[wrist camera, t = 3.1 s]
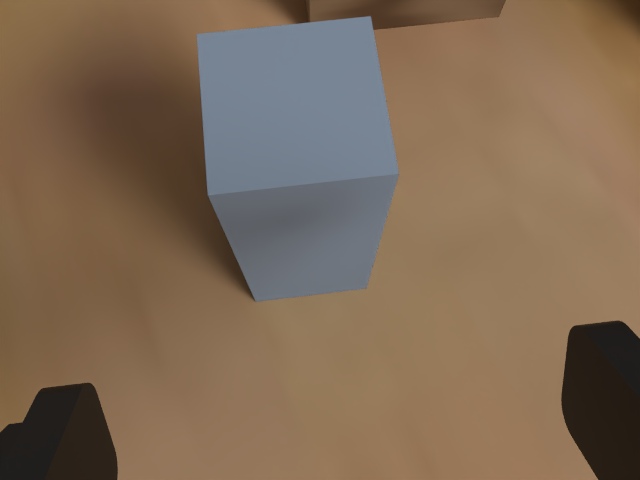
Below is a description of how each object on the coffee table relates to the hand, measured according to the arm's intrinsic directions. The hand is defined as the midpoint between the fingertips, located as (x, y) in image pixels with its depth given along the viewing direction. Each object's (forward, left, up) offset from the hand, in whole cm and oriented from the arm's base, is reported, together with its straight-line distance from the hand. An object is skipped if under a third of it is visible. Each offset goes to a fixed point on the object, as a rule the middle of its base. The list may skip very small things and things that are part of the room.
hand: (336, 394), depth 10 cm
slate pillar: (0, +7, -13) cm, 15 cm away
